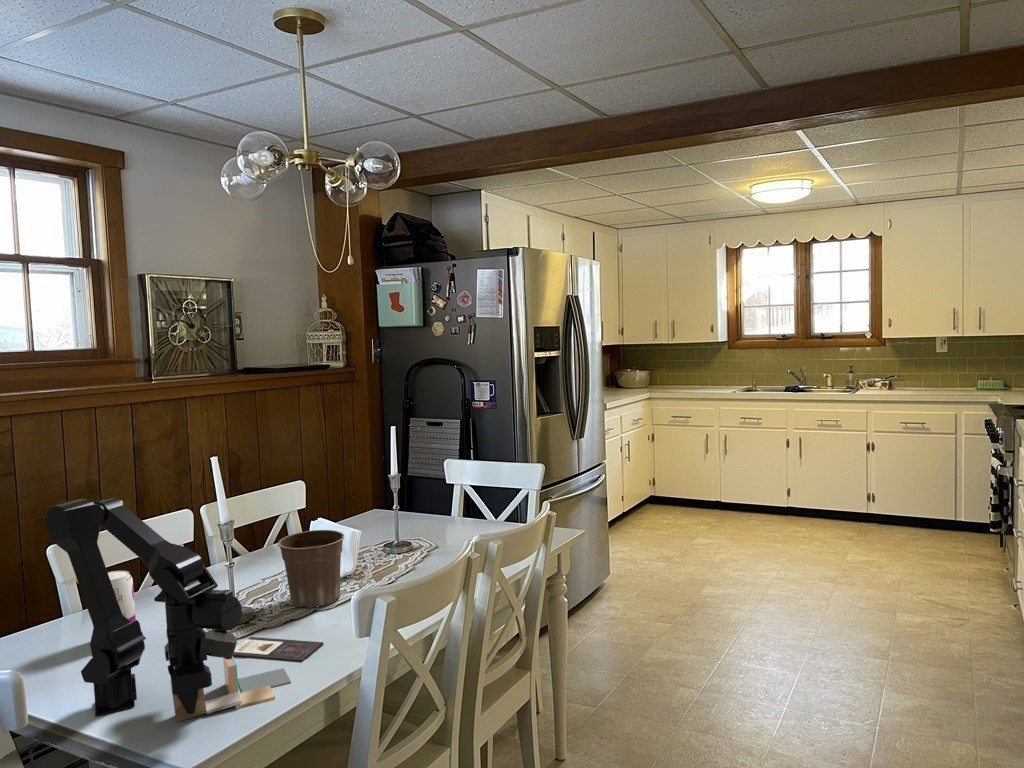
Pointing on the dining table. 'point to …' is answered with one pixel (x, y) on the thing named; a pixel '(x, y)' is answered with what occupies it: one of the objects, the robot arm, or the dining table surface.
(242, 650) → the chocolate bar
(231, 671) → the tile
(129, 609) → the supplement can
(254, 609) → the dining table surface
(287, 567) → the plant pot
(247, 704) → the rest
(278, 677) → the plate
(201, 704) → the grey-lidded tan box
